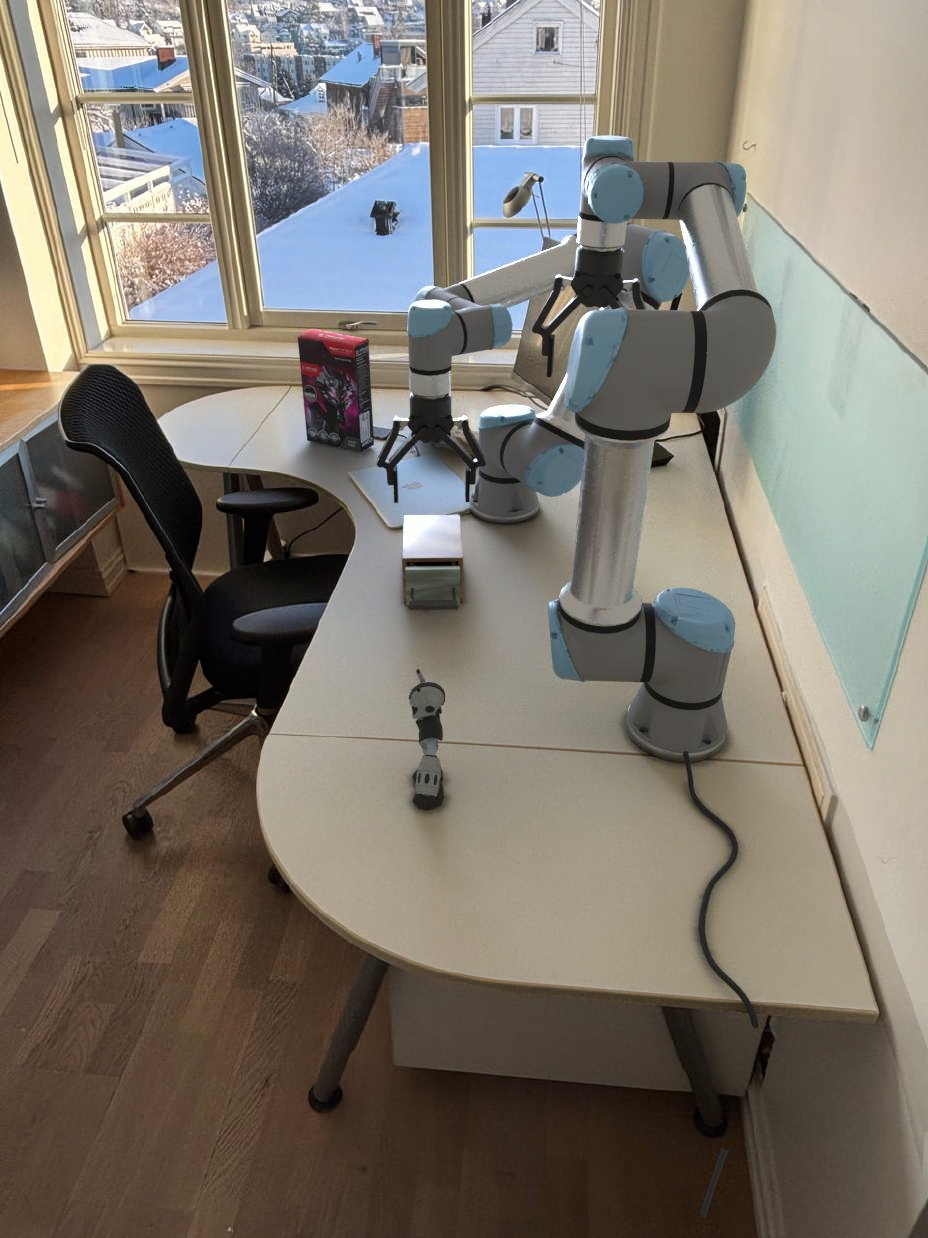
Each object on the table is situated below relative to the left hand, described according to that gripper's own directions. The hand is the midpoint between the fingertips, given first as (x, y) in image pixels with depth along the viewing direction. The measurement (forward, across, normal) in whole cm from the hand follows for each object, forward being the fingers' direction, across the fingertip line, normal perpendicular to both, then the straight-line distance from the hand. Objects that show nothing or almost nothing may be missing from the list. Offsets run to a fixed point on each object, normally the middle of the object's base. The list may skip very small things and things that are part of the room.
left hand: (431, 499), depth 176 cm
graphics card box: (+15, +23, -61) cm, 67 cm away
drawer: (+14, 0, +12) cm, 18 cm away
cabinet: (+15, 0, +5) cm, 16 cm away
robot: (+15, +1, +63) cm, 65 cm away
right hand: (-26, -27, +6) cm, 38 cm away
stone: (+15, -5, -59) cm, 61 cm away
